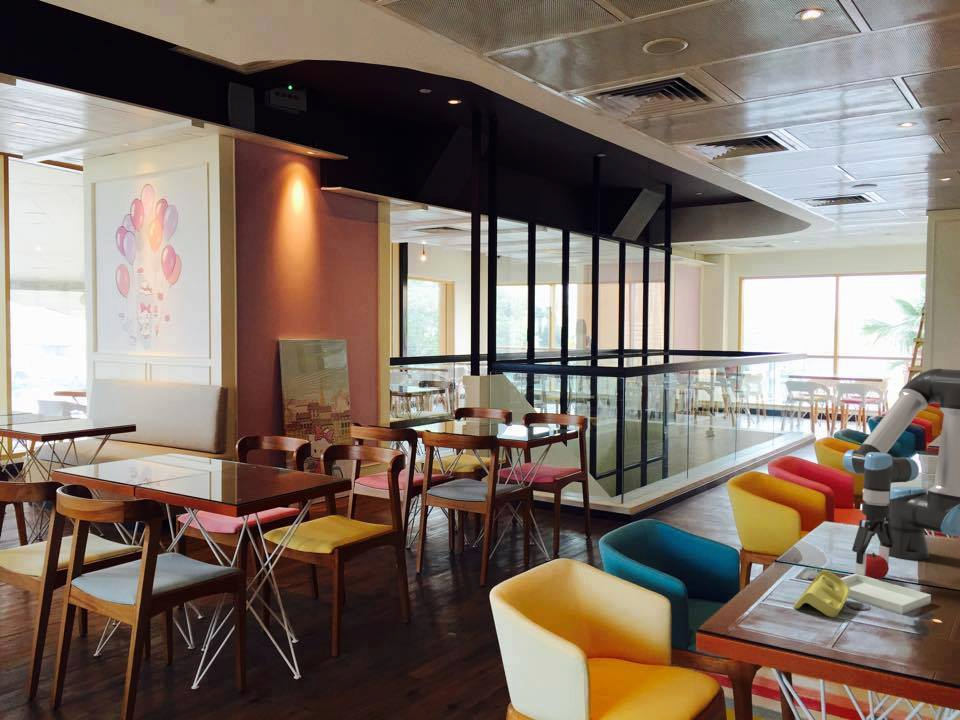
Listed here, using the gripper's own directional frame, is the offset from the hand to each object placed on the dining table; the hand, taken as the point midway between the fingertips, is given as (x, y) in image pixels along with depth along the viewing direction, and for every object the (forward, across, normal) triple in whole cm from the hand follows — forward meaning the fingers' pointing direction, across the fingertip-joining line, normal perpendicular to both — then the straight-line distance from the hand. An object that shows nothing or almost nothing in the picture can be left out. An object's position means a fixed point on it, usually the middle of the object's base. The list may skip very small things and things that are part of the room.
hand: (871, 570), depth 245 cm
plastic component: (+3, +35, +5) cm, 36 cm away
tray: (+2, +16, +10) cm, 19 cm away
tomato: (+3, 0, 0) cm, 3 cm away
